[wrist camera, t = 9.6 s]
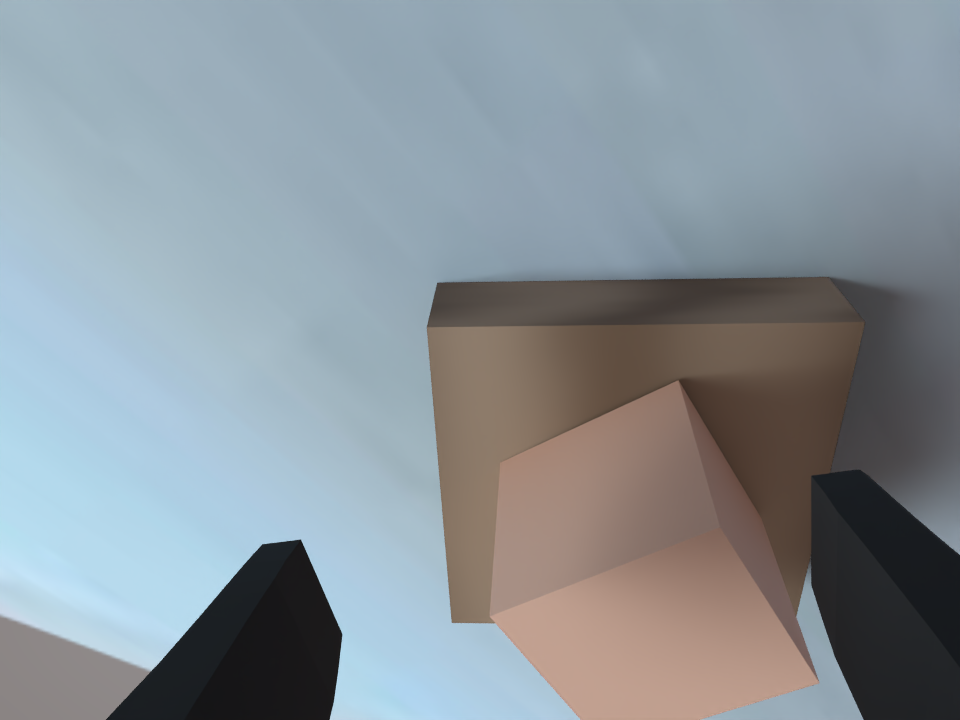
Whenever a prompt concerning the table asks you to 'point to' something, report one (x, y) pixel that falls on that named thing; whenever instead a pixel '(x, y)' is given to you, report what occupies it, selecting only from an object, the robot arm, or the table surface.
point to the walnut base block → (637, 390)
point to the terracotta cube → (642, 570)
